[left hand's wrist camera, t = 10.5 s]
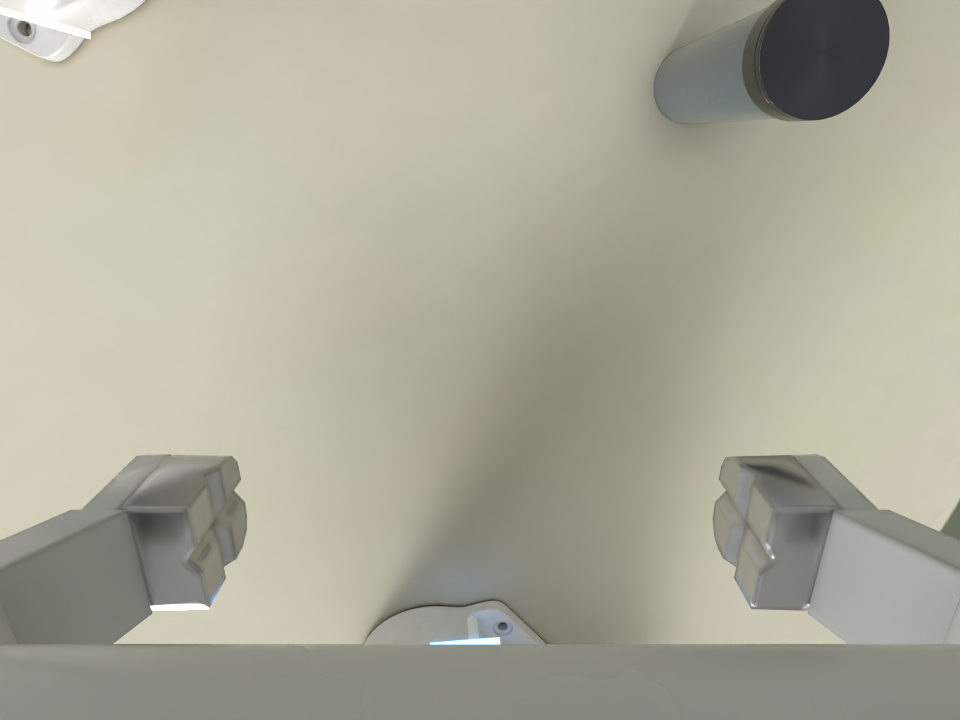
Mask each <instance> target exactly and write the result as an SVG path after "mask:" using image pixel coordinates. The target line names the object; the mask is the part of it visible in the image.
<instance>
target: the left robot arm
mask: <svg viewBox="0 0 960 720" xmlns="http://www.w3.org/2000/svg"><path fill="white" fill-rule="evenodd" d="M240 480H241V477H240V472H239V467H238V462H237V461H236V460H235V459H234V458H233V457H232V456H201V455H170V454H166V455H141V456H136V457H135V458H134V459H133V460H132V461H131V462H130V463H129V464H128V465H127V466H126V467H125V468H124V469H123V470H122V471H121V472H120V473H119V474H118V475H117V476H116V477H115V478H114V479H112V480H111V481H110V482H109V483H108V484H107V485H106V486H105V487H104V488H103V489H102V490H101V491H100V492H99V493H98V494H97V495H96V496H95V497H94V498H93V499H92V500H91V501H90V502H89V503H88V504H87V505H86V506H85V507H84V508H83V509H82V510H70V511H68V512H65V513H63V514H61V515H58V516H56V517H54V518H51V519H49V520H47V521H44V522H42V523H40V524H37V525H35V526H33V527H31V528H28V529H26V530H24V531H21V532H19V533H17V534H14V535H12V536H10V537H7V538H5V539H3V540H0V720H960V541H959V540H957V539H955V538H952V537H950V536H948V535H945V534H943V533H941V532H939V531H936V530H934V529H932V528H929V527H927V526H925V525H922V524H920V523H918V522H916V521H913V520H911V519H909V518H906V517H904V516H902V515H899V514H897V513H895V512H892V511H890V510H878V509H877V508H876V507H875V506H874V505H873V504H872V503H871V502H870V501H869V500H868V499H867V498H866V497H865V496H864V495H863V494H862V493H861V492H860V491H859V490H858V489H857V488H856V487H855V486H854V485H853V484H852V483H851V482H850V481H849V480H848V479H847V478H846V477H845V476H844V475H843V474H842V473H840V472H839V471H838V470H837V469H836V468H835V467H834V466H833V465H832V464H831V463H830V462H829V461H828V460H827V459H826V458H825V457H823V456H820V455H817V454H810V455H778V456H737V457H725V460H724V462H723V464H722V466H721V471H720V476H719V480H720V482H721V483H722V485H723V486H724V488H725V489H726V491H725V493H724V494H723V495H722V496H721V497H720V498H719V499H718V500H717V501H716V502H715V507H714V514H713V527H714V537H715V540H716V543H717V547H718V549H719V551H720V553H721V555H722V557H723V558H724V559H725V560H726V561H728V562H730V563H731V564H733V565H734V566H736V571H735V577H734V578H735V580H736V582H737V584H738V586H739V587H740V589H741V591H742V593H743V595H744V596H745V598H746V600H747V602H748V603H749V605H750V607H751V609H770V610H807V611H808V614H809V615H811V616H812V617H813V618H815V619H816V620H817V621H819V622H820V623H821V624H822V625H824V626H825V627H826V628H828V629H829V630H830V631H831V632H833V633H834V634H835V635H837V636H838V637H839V638H841V639H842V640H843V641H844V642H846V643H847V644H546V643H545V642H544V641H543V640H542V639H541V638H540V637H539V636H538V635H537V634H536V633H535V632H534V631H533V630H532V629H530V628H529V627H528V626H527V625H526V624H525V623H524V622H523V621H522V620H521V619H520V618H519V617H518V616H517V615H516V614H515V613H513V612H512V611H511V610H510V609H509V608H508V607H507V606H506V605H505V604H503V603H502V602H499V601H486V602H481V603H477V604H474V605H470V606H467V607H446V606H428V607H420V608H415V609H411V610H407V611H404V612H401V613H399V614H397V615H394V616H392V617H391V618H389V619H387V620H386V621H384V622H383V623H381V624H380V625H379V626H378V627H377V628H375V629H374V630H373V632H372V633H371V634H370V635H369V636H368V638H367V639H366V641H365V643H364V644H113V643H115V642H116V641H117V640H118V639H120V638H121V637H122V636H124V635H125V634H126V633H127V632H129V631H130V630H131V629H133V628H134V627H135V626H137V625H138V624H139V623H140V622H142V621H143V620H144V619H146V618H147V617H148V616H150V615H151V614H152V611H153V610H188V609H209V607H210V605H211V604H212V602H213V600H214V598H215V596H216V595H217V593H218V591H219V589H220V587H221V586H222V584H223V582H224V580H225V578H226V577H225V571H224V566H226V565H227V564H229V563H230V562H232V561H234V560H235V559H237V557H238V555H239V553H240V551H241V549H242V547H243V544H244V539H245V535H246V530H247V512H246V506H245V502H244V501H243V500H242V499H241V498H240V497H239V496H238V495H237V494H236V493H235V491H234V490H235V488H236V486H237V485H238V483H239V482H240ZM500 623H505V624H500Z"/></svg>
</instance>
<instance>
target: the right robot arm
mask: <svg viewBox="0 0 960 720" xmlns="http://www.w3.org/2000/svg"><path fill="white" fill-rule="evenodd" d="M145 1H146V0H0V38H1V39H3V40H5V41H7V42H9V43H11V44H13V45H15V46H17V47H19V48H21V49H23V50H25V51H27V52H29V53H31V54H33V55H35V56H38V57H40V58H43V59H46V60H49V61H53V62H58V61H62V60H64V59H66V58H67V57H69V56H70V55H71V54H72V53H73V52H74V51H75V50H76V49H77V47H78V46H79V45H80V44H81V43H82V41H83V40H84V39H85V38H89V39H90V35H91V33H90V32H91V31H93V30H94V29H96V28H98V27H100V26H102V25H105V24H108V23H110V22H113V21H115V20H118V19H120V18H122V17H124V16H126V15H128V14H129V13H131V12H132V11H134V10H135V9H136V8H138V7H139V6H140V5H141V4H143V3H144V2H145ZM28 23H29V25H30V26H31V30H32V31H31V34H30V35H29V36H28V35H27V33H26V29H25V28H26V25H27V24H28Z"/></svg>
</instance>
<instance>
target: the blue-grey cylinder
mask: <svg viewBox="0 0 960 720" xmlns="http://www.w3.org/2000/svg"><path fill="white" fill-rule="evenodd" d="M767 8H768V7H767ZM767 8H765V9H763V10H761V11H759V12H757V13H754V14H752V15H750V16H748V17H746V18H744V19H741V20H739V21H737V22H735V23H733V24H731V25H729V26H726V27H724V28H722V29H720V30H718V31H716V32H713V33H711V34H709V35H707V36H705V37H703V38H700V39H698V40H696V41H694V42H692V43H690V44H687V45H685V46H683V47H681V48H679V49H677V50H675V51H674V52H672V53H671V54H670V55H669V56H668V57H667V58H666V59H665V60H664V61H663V63H662V64H661V66H660V68H659V70H658V72H657V75H656V78H655V82H654V95H655V100H656V103H657V105H658V107H659V109H660V111H661V112H662V113H663V114H664V115H665V116H666V117H667V118H668V119H670V120H672V121H674V122H676V123H680V124H698V123H714V122H730V121H746V120H762V119H776V118H773V117H771V116H769V115H767V114H766V113H764V112H763V111H761V110H760V109H759V108H758V107H757V106H756V105H755V104H754V102H753V101H752V100H751V98H750V96H749V94H748V93H747V90H746V87H745V84H744V80H743V74H742V58H743V51H744V47H745V43H746V41H747V38H748V35H749V33H750V31H751V29H752V27H753V26H754V24H755V22H756V21H757V19H758V18H759V17H760V16H761V14H762V13H763V12H764V11H765V10H766V9H767Z"/></svg>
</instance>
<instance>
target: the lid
mask: <svg viewBox="0 0 960 720" xmlns="http://www.w3.org/2000/svg"><path fill="white" fill-rule="evenodd" d="M888 47H889V24H888V19H887V16H886V12H885V10H884V8H883V6H882V4H881V2H880V1H879V0H776V1H775V2H774V3H772V4H771V5H770V6H769V7H768V8H767V9H766V10H765V11H764V12H763V13H762V14H761V16H760V17H759V18H758V19H757V21H756V22H755V24H754V26H753V27H752V29H751V31H750V33H749V35H748V38H747V41H746V43H745V47H744V51H743V58H742V74H743V80H744V84H745V87H746V90H747V93H748V94H749V96H750V98H751V100H752V101H753V102H754V104H755V105H756V106H757V107H758V108H759V109H760V110H761V111H763V112H764V113H766V114H767V115H769V116H771V117H773V118H776V119H779V120H784V121H810V120H821V119H826V118H829V117H833V116H835V115H837V114H840V113H842V112H844V111H845V110H847V109H849V108H850V107H851V106H853V105H854V104H856V103H857V102H858V101H859V100H860V99H861V98H862V97H863V96H864V95H865V94H866V93H867V92H868V91H869V90H870V88H871V87H872V86H873V84H874V83H875V81H876V79H877V78H878V76H879V74H880V72H881V70H882V68H883V66H884V63H885V60H886V57H887V52H888Z"/></svg>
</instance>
